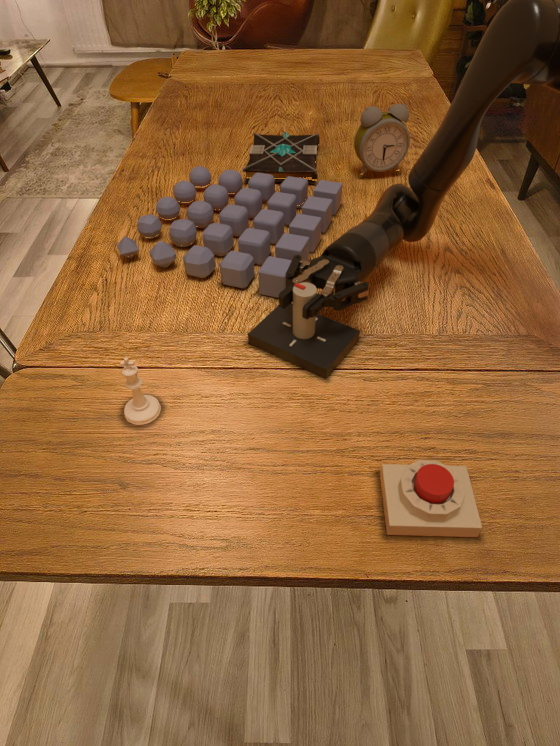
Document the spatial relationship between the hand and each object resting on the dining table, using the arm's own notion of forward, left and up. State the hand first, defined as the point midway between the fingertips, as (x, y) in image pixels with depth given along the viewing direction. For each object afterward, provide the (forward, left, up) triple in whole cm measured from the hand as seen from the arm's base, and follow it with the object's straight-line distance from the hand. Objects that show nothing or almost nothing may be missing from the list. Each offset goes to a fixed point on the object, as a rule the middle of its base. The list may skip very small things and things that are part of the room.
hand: (293, 308), depth 72 cm
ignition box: (-27, +13, -9) cm, 31 cm away
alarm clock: (+17, -62, -9) cm, 65 cm away
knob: (0, -3, -6) cm, 7 cm away
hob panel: (0, -3, -9) cm, 9 cm away
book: (+38, -54, -9) cm, 66 cm away
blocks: (+29, -23, -9) cm, 38 cm away
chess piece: (+11, +21, -9) cm, 25 cm away
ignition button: (-27, +13, -5) cm, 31 cm away
